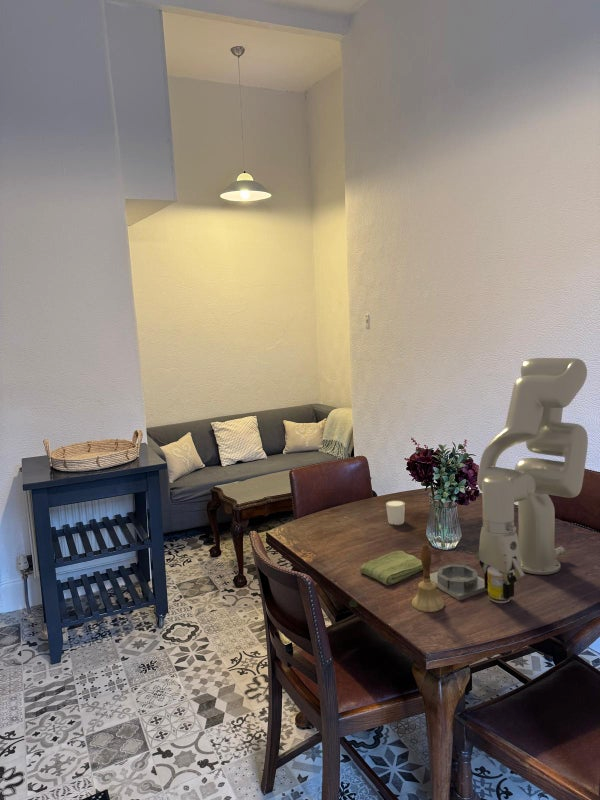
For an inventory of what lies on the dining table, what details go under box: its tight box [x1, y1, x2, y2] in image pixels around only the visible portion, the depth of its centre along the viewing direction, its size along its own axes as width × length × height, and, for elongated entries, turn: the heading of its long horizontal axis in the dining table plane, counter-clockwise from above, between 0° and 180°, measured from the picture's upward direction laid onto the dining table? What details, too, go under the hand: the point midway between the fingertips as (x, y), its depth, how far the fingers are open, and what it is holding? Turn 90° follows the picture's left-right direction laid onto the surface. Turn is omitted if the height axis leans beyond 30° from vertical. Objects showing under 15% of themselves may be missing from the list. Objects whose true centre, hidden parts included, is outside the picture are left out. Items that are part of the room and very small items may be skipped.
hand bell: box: [411, 543, 446, 613], centre depth 145 cm, size 8×8×16 cm
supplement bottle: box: [487, 566, 512, 604], centre depth 146 cm, size 6×6×10 cm
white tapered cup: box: [385, 500, 406, 526], centre depth 204 cm, size 7×7×7 cm
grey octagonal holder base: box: [430, 564, 488, 601], centre depth 155 cm, size 12×14×3 cm
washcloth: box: [359, 550, 423, 586], centre depth 166 cm, size 13×18×3 cm
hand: (499, 591), depth 146 cm, fingers closed on supplement bottle, 5 cm apart
